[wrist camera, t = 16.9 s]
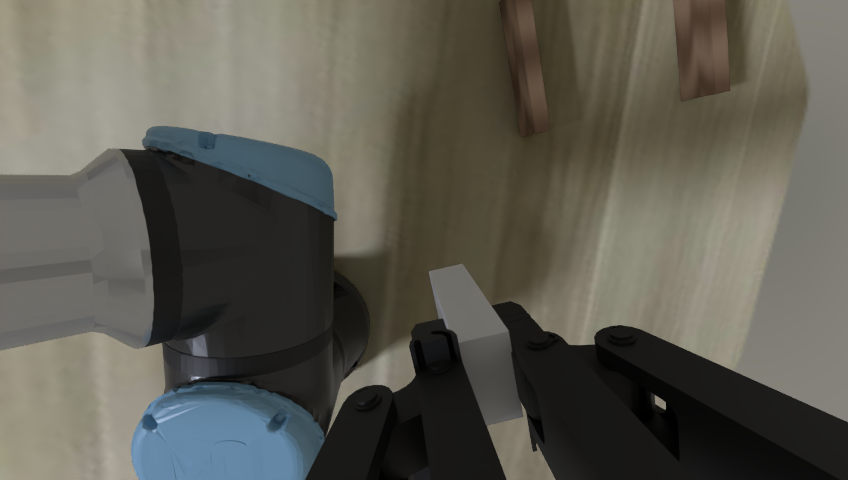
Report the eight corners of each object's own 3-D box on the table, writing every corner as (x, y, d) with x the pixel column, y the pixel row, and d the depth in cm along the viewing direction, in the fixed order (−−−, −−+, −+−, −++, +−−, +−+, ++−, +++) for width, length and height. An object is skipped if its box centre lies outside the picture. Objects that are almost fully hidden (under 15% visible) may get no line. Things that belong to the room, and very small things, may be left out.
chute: (694, 98, 44) (730, 90, 40) (521, 136, 44) (535, 133, 39) (684, -39, 42) (721, -66, 37) (499, 1, 41) (512, -20, 36)
